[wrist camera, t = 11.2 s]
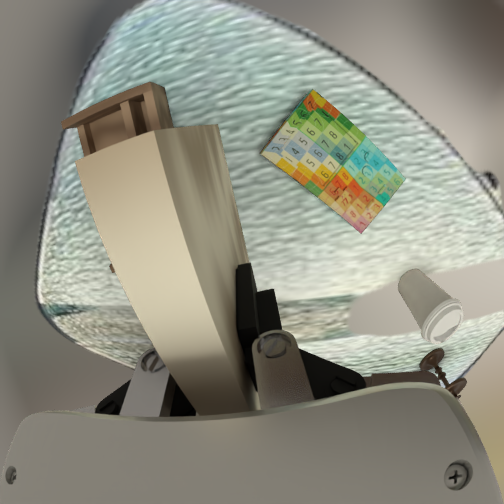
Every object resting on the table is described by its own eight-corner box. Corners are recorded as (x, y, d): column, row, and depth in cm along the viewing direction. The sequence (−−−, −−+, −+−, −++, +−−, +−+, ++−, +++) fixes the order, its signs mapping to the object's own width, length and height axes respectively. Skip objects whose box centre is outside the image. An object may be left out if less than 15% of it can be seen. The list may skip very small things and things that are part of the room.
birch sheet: (259, 302, 22) (279, 471, 10) (241, 306, 22) (248, 474, 10) (217, 124, 16) (153, 130, 4) (194, 129, 16) (75, 161, 4)
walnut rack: (202, 234, 44) (196, 255, 38) (126, 252, 44) (112, 272, 38) (164, 87, 33) (150, 81, 27) (84, 119, 34) (61, 121, 27)
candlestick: (411, 374, 68) (454, 464, 36) (424, 350, 63) (477, 446, 32) (437, 366, 68) (481, 448, 37) (450, 342, 63) (503, 428, 32)
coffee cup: (385, 300, 52) (417, 349, 39) (401, 260, 48) (443, 305, 35) (417, 301, 54) (450, 345, 40) (433, 264, 49) (474, 305, 36)
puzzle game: (363, 236, 41) (261, 154, 34) (352, 224, 45) (258, 151, 39) (408, 180, 37) (314, 88, 30) (394, 173, 41) (306, 91, 35)
